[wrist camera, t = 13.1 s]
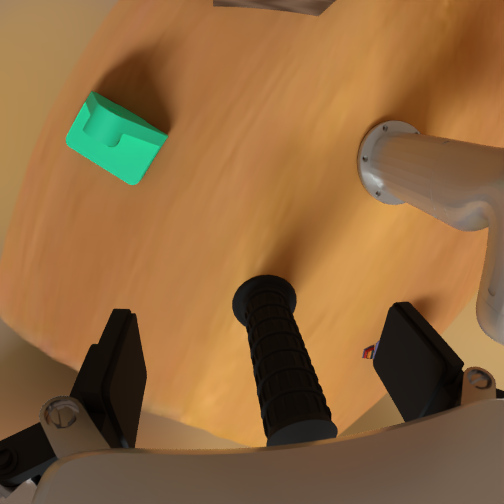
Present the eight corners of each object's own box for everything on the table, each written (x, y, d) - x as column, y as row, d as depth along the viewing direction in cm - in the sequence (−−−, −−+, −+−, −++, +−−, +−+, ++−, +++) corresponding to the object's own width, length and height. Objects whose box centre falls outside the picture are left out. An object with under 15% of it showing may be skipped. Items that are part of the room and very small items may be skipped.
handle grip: (242, 337, 52) (301, 319, 52) (265, 481, 27) (357, 454, 27) (223, 286, 48) (288, 266, 48) (236, 437, 23) (354, 403, 23)
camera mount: (71, 141, 37) (34, 149, 28) (98, 92, 35) (66, 86, 26) (139, 184, 41) (118, 202, 31) (169, 135, 39) (155, 139, 29)
